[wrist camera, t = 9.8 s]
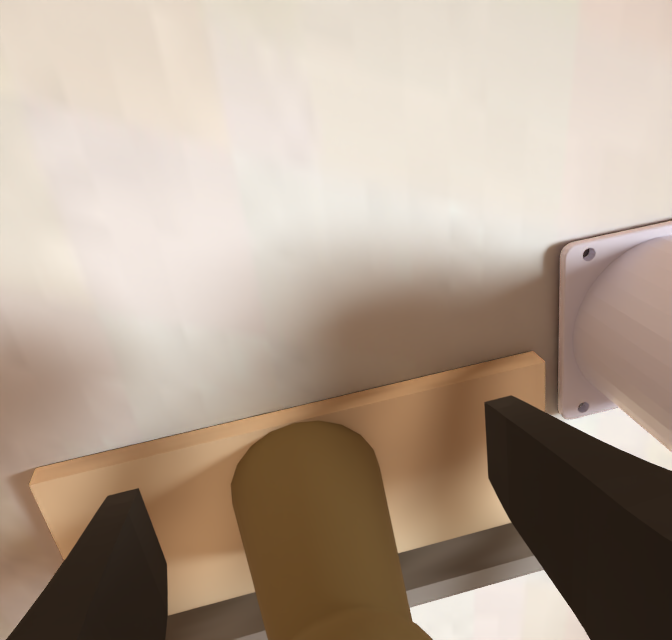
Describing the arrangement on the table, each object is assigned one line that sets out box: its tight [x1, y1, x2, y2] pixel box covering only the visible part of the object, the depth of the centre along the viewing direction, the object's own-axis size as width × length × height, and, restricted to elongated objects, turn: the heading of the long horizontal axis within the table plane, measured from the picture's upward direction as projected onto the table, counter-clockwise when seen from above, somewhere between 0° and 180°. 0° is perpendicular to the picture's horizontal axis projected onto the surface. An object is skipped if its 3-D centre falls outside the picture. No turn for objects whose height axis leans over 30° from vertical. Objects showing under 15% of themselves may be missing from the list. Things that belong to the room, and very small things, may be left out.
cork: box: [231, 420, 432, 640], centre depth 19 cm, size 6×6×11 cm
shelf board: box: [29, 351, 545, 640], centre depth 24 cm, size 20×9×3 cm, turn 98°
